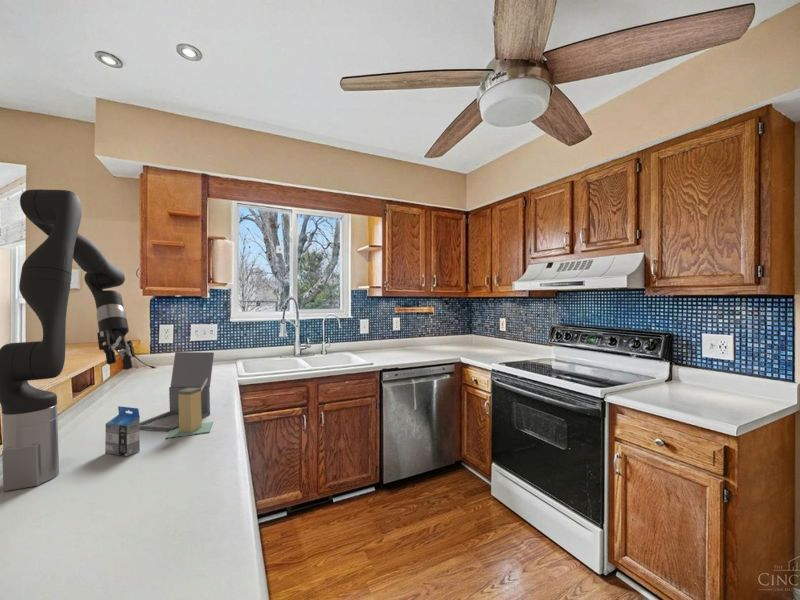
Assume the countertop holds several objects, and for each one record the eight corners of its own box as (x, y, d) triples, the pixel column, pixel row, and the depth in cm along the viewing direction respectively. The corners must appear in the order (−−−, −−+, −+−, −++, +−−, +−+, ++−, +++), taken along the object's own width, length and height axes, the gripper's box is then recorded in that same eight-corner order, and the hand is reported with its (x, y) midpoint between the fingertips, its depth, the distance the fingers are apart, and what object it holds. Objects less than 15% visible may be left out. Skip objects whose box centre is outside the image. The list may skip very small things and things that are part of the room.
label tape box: (104, 453, 100) (103, 409, 100) (119, 447, 103) (118, 405, 103) (126, 457, 97) (125, 412, 97) (141, 451, 101) (140, 407, 101)
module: (191, 432, 113) (190, 391, 113) (179, 431, 114) (177, 391, 114) (202, 426, 118) (201, 387, 118) (190, 426, 119) (189, 387, 119)
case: (173, 431, 116) (171, 361, 116) (131, 428, 119) (129, 360, 119) (215, 411, 135) (214, 352, 135) (178, 410, 138) (176, 351, 138)
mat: (209, 432, 114) (209, 431, 114) (165, 439, 109) (165, 437, 109) (213, 422, 123) (213, 421, 123) (172, 428, 118) (172, 427, 118)
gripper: (111, 309, 111) (119, 357, 106) (137, 323, 124) (145, 366, 120) (84, 318, 109) (91, 366, 105) (113, 330, 123) (121, 374, 118)
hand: (120, 366), depth 112 cm, fingers open, 8 cm apart
